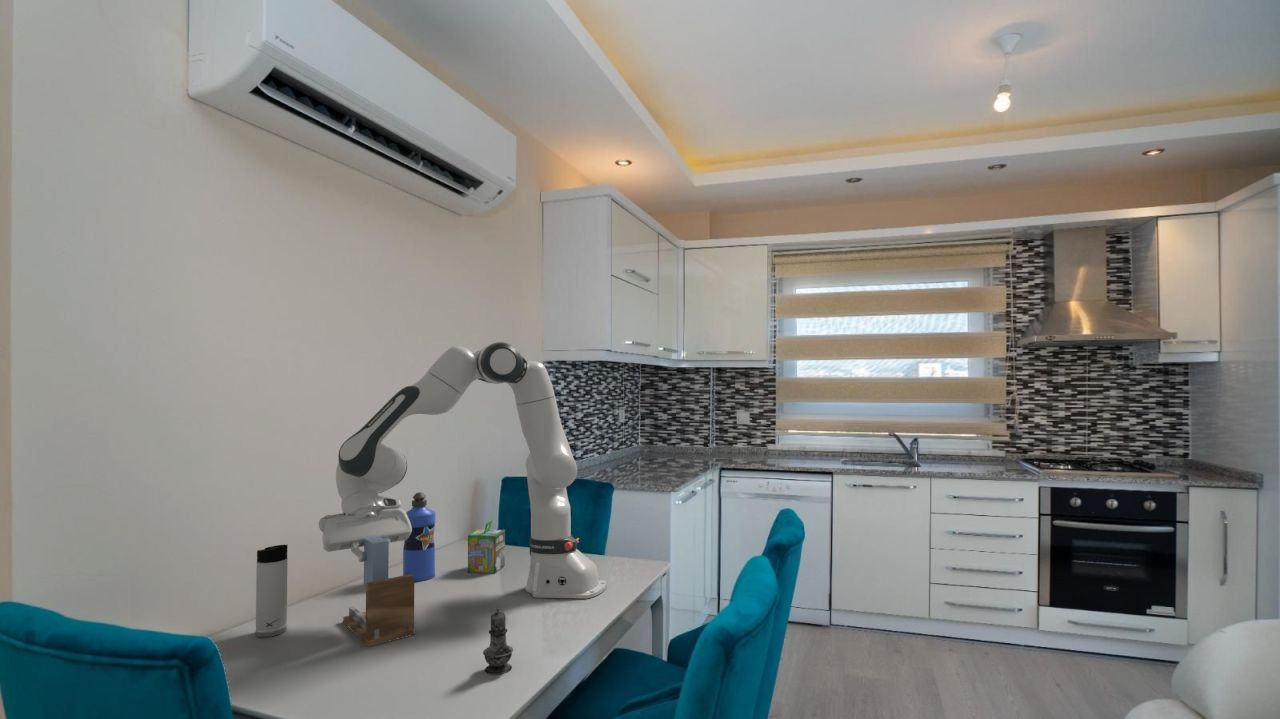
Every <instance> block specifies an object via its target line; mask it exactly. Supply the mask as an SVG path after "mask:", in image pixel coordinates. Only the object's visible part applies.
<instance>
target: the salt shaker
mask: <svg viewBox="0 0 1280 719" xmlns="http://www.w3.org/2000/svg"><path fill="white" fill-rule="evenodd" d="M507 633H508V629H507V628H506V614H505V613H504V611H500V608H499V607H497V608H496V611H495V612H493V613H492V614H491V616H490V630H489V631H488V634H489V636H490V637H489V638H490V639H489V640H490V643H489V646H488V647H486V648H485V649H484V650H483V651H482V654H483V655H484V659H485V661H486V663H487V664H488V665H487V666H485V668H484V672H485V673H486V674H487V675H490V676H500V675H504V674H507V673H509V672H510V671H512V669H513V667H512V664H510V663H508V662H509V661H510V660H511V658H512V656H513V655H512V654H513V652H514V648H513V647H512V646H511V645H508V643H507Z"/></svg>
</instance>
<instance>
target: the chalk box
mask: <svg viewBox="0 0 1280 719" xmlns="http://www.w3.org/2000/svg"><path fill="white" fill-rule="evenodd" d="M492 522H493V520H492V519H491V520H489V521H487V522H486V524H485V528H477V529H476V530H474V531H472V532H471V533H470V534H469V535H467V573H472V574H473V573H477V574H480V573H481V574H496V573H497V572H498V571H500V570H502V568H504V567H505V565H506V562H505V561H506V558H505V556H506V553H505V552H506V549H505V548H506V529H496V528H495V529H494V528H493V529H492Z"/></svg>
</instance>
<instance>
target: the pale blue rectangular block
mask: <svg viewBox="0 0 1280 719" xmlns="http://www.w3.org/2000/svg"><path fill="white" fill-rule="evenodd" d="M389 545H390V543H389V541H387V540H385V539H383V538H382V537H380V536H378V537H371V538H364V547H363V552H364V551H366V555H367V559H366V561H363V587H365V588H366V583H367V582H372V581H378V580H383V579H388V578H389V562H390V561H389V558H390V556H389V553H390V552H389V548H390V546H389Z"/></svg>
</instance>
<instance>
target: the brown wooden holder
mask: <svg viewBox="0 0 1280 719" xmlns="http://www.w3.org/2000/svg"><path fill="white" fill-rule="evenodd" d="M342 618H343V619H342V621H344V622H345V623H346V624H347V625H348V626H349V627H350V628H351V629H352V630H353V631H354V632H355V633H356V634H357V635H356V634H355V633H354V632H353V631H352V630H351V629H350V628H349V627H348V626H347V625H346V624H345V623H344V622H343V623H344V624H345V625H346V626H347V627H348V628H349V629H350V630H351V631H352V632H353V633H354V634H355V635H356V636H357V637H358V638H359V639H360V640H361V641H362V642H363V643H364V644H365V643H366V644H365V645H366V646H367V647H373V646H376V645H379V644H378V643H380V644H384V643H387V642H386V641H388V642H390V641H389V640H392V641H395V640H394V639H396V640H398V639H397V638H400V639H403V638H402V637H404V638H407V637H406V636H408V637H410V636H409V635H412V636H415V582H414V575H412V574H409V575H404V576H403V575H399V576H393V577H388V579H383V580H378V581H372V582H367V583H366V587H365V612H361V611H360V610H358V609H357V608H356V607H355V606H353V605H352V606H349V607H348V615H345V616H343V617H342ZM383 642H384V643H383ZM375 644H376V645H375Z"/></svg>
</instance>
